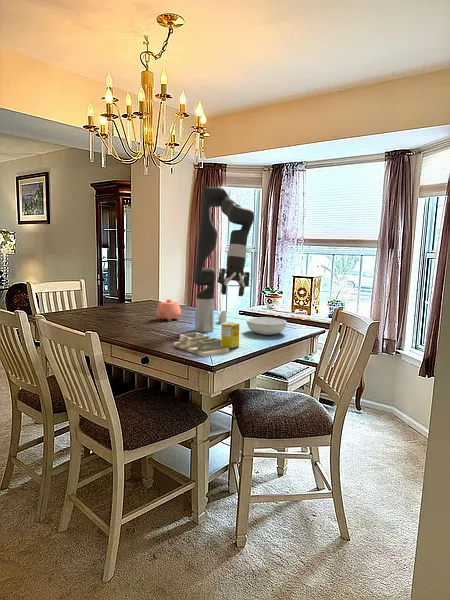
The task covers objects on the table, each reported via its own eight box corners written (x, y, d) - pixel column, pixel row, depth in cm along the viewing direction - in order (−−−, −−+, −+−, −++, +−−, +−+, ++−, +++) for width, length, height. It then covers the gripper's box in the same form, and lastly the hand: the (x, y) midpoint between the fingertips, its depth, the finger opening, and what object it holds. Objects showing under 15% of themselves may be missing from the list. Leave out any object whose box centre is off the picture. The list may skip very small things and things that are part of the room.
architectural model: (216, 324, 240) (216, 311, 239) (221, 322, 246) (222, 309, 245) (221, 324, 239) (221, 311, 238) (227, 322, 245) (227, 310, 244)
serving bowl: (294, 334, 218) (294, 321, 217) (267, 340, 204) (268, 326, 203) (264, 327, 233) (264, 315, 232) (237, 332, 219) (238, 319, 218)
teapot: (170, 316, 258) (171, 296, 256) (186, 318, 252) (186, 298, 250) (149, 321, 241) (149, 300, 239) (165, 323, 235) (165, 302, 233)
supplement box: (239, 347, 188) (239, 323, 187) (231, 350, 183) (232, 325, 182) (228, 345, 191) (228, 321, 190) (220, 347, 187) (221, 323, 185)
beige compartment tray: (173, 345, 188) (173, 334, 187) (198, 341, 197) (198, 331, 196) (203, 356, 171) (203, 345, 171) (229, 351, 180) (229, 340, 180)
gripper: (244, 258, 178) (240, 296, 178) (217, 253, 170) (212, 293, 170) (255, 258, 172) (251, 297, 172) (227, 253, 163) (223, 294, 164)
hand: (232, 295), depth 171 cm, fingers open, 8 cm apart
